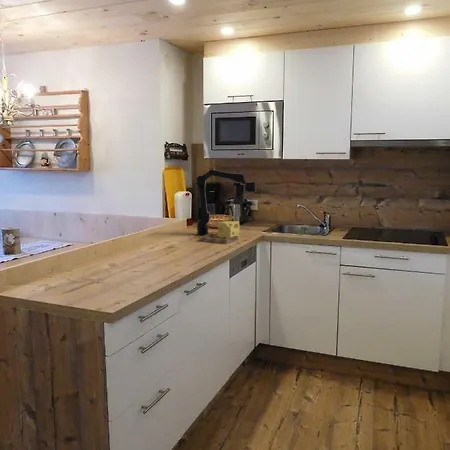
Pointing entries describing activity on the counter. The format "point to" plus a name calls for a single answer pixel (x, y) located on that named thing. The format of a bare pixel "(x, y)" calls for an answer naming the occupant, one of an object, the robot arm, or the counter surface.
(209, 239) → the bay
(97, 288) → the counter surface
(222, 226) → the cheese
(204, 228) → the robot arm
